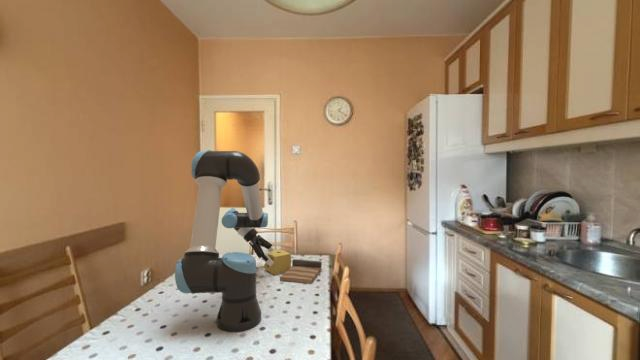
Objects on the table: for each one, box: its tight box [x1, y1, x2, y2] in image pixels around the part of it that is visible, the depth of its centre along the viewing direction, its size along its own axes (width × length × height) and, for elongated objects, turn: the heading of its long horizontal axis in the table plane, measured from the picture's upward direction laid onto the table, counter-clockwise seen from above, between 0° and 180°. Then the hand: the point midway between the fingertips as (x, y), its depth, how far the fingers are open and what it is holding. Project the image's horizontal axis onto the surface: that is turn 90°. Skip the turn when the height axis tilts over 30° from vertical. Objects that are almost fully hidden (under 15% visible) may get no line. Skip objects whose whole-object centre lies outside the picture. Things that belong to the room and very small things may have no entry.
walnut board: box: [279, 258, 323, 285], centre depth 149 cm, size 20×16×5 cm
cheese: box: [263, 248, 292, 276], centre depth 156 cm, size 10×11×10 cm
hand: (275, 260), depth 155 cm, fingers closed on cheese, 13 cm apart
